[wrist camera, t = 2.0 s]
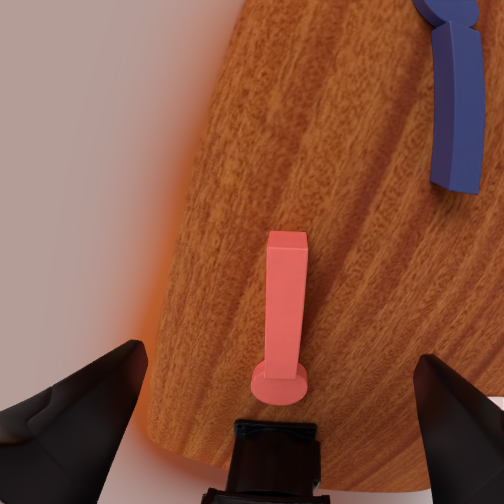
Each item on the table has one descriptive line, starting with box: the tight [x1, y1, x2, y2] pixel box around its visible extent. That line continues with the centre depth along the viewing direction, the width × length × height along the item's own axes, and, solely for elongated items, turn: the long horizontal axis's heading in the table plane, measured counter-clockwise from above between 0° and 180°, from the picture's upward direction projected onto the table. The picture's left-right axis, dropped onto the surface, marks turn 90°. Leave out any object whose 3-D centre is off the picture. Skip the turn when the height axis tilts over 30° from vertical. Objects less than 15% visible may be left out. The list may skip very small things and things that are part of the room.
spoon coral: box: [251, 231, 308, 406], centre depth 16 cm, size 12×4×2 cm, turn 0°
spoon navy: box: [413, 0, 485, 195], centre depth 10 cm, size 12×4×2 cm, turn 0°
